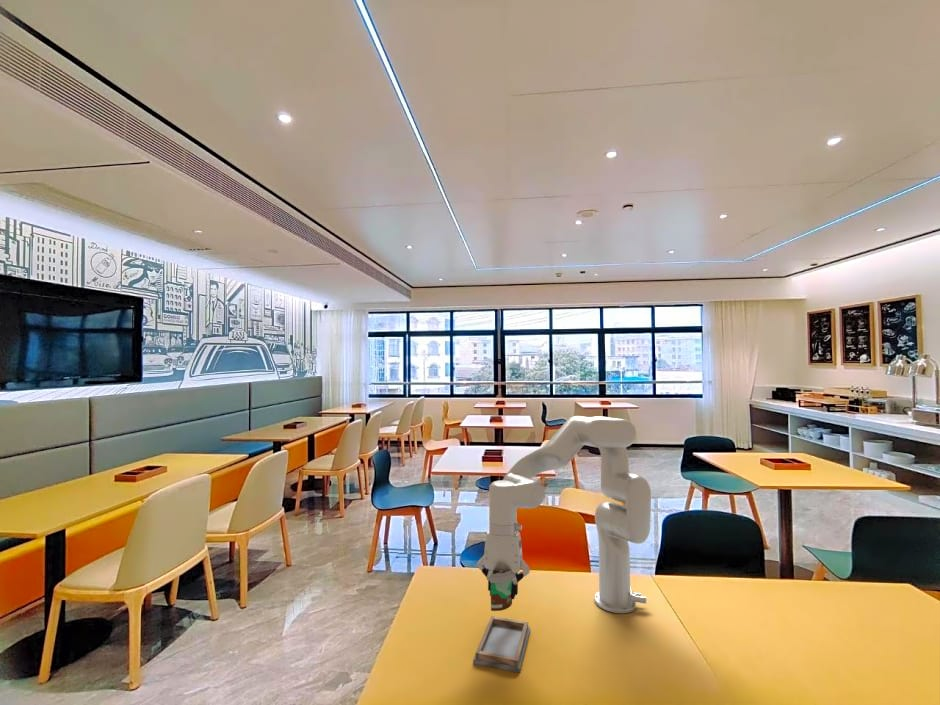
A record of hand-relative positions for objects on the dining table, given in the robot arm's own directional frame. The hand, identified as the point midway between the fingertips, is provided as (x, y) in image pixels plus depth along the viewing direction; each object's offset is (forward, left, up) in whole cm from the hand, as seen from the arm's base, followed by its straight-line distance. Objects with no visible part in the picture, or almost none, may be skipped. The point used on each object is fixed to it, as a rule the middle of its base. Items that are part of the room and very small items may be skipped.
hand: (502, 594), depth 117 cm
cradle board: (0, 0, -14) cm, 14 cm away
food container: (-1, 0, -2) cm, 2 cm away
